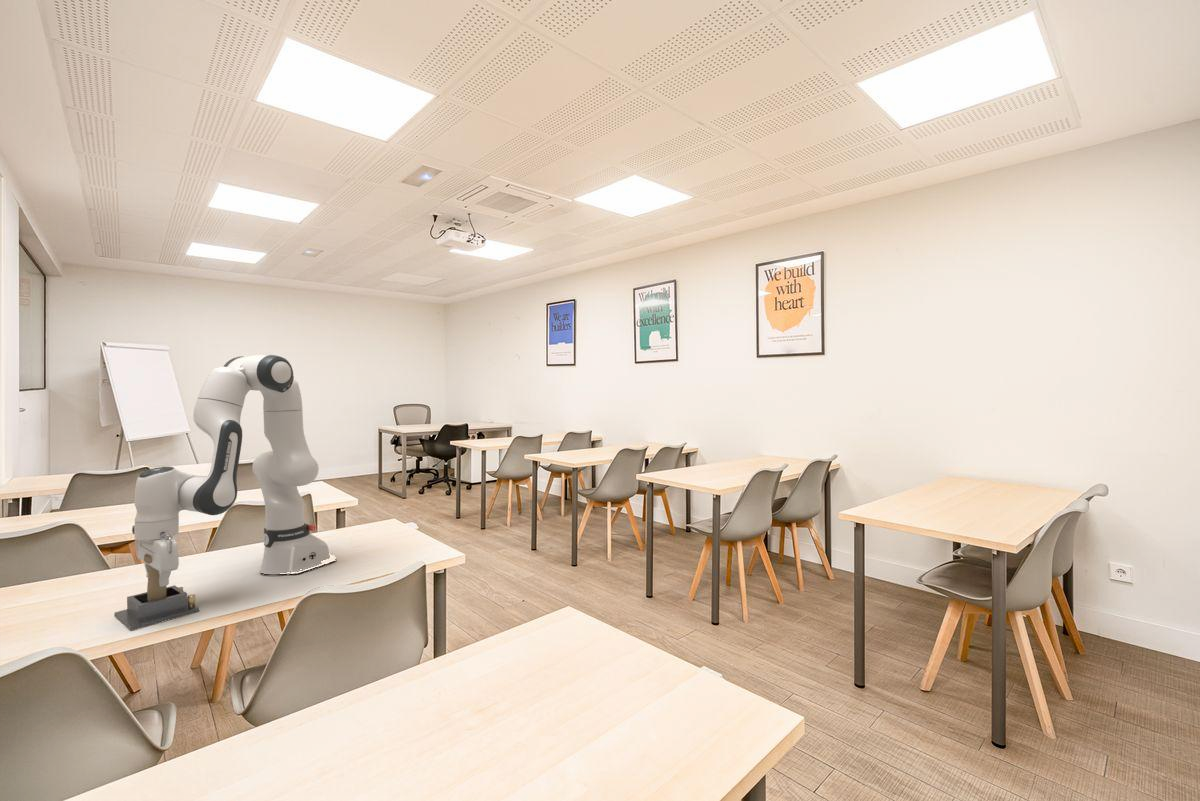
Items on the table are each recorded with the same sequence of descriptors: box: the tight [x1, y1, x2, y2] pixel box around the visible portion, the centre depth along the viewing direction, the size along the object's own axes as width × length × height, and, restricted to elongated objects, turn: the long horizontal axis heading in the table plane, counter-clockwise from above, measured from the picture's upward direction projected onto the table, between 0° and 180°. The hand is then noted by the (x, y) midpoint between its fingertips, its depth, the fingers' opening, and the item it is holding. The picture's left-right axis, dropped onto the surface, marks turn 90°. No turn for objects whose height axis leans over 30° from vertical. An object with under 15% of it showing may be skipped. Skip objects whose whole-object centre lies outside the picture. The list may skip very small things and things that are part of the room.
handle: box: [144, 554, 168, 602], centre depth 136 cm, size 5×6×15 cm
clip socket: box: [114, 585, 200, 632], centre depth 137 cm, size 14×14×5 cm
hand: (157, 581), depth 137 cm, fingers open, 8 cm apart
